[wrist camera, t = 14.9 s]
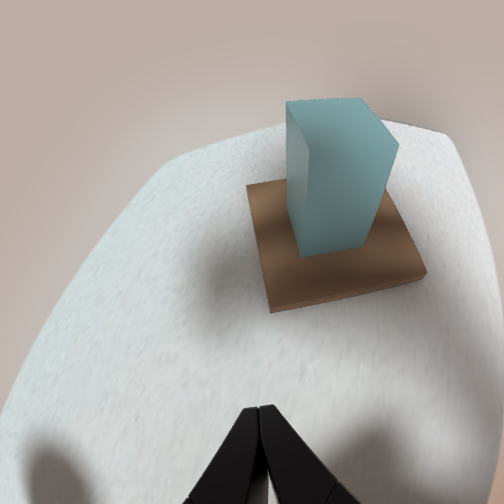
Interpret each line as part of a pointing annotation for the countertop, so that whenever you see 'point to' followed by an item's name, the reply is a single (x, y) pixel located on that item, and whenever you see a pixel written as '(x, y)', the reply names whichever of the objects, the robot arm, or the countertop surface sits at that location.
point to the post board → (328, 255)
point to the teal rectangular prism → (335, 172)
